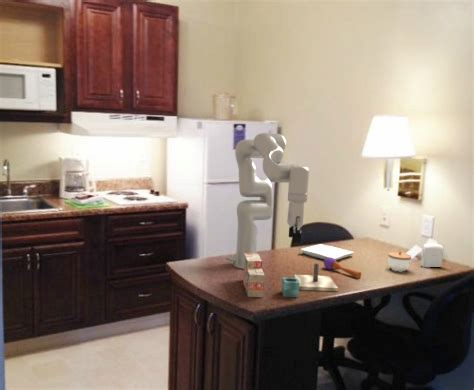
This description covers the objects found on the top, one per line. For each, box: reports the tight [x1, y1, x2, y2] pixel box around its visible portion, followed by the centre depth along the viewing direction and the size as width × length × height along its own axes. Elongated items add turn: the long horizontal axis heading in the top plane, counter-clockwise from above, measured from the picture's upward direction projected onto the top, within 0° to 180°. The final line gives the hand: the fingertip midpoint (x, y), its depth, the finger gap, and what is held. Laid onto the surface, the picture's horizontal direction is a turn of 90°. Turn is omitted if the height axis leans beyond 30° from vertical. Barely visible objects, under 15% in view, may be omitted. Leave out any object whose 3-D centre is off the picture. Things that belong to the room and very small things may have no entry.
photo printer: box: [420, 242, 444, 268], centre depth 255 cm, size 10×4×12 cm, turn 89°
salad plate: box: [300, 243, 355, 261], centre depth 266 cm, size 21×21×3 cm
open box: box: [281, 277, 300, 298], centre depth 202 cm, size 6×6×6 cm
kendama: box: [323, 257, 362, 280], centre depth 236 cm, size 6×6×20 cm
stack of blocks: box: [242, 253, 266, 298], centre depth 207 cm, size 21×6×12 cm, turn 5°
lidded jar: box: [387, 251, 412, 273], centre depth 246 cm, size 11×11×9 cm
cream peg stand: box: [293, 262, 339, 292], centre depth 216 cm, size 16×16×10 cm
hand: (294, 240), depth 199 cm, fingers open, 9 cm apart
